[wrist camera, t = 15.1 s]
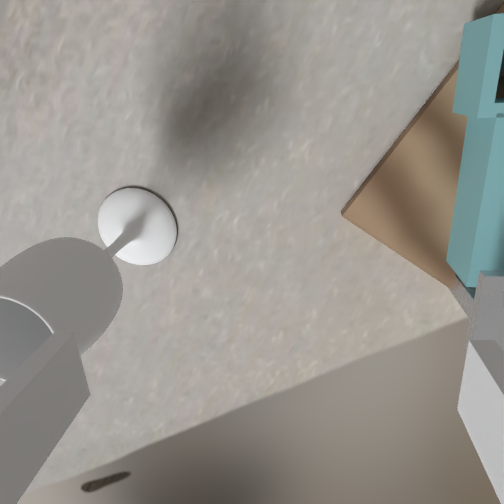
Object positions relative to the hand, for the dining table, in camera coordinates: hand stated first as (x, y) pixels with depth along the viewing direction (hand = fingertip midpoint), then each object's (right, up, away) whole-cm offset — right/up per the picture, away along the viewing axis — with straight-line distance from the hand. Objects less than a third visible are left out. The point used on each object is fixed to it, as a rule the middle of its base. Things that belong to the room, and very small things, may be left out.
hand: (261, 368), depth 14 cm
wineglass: (-12, +7, +30) cm, 34 cm away
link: (+20, +12, +22) cm, 32 cm away
